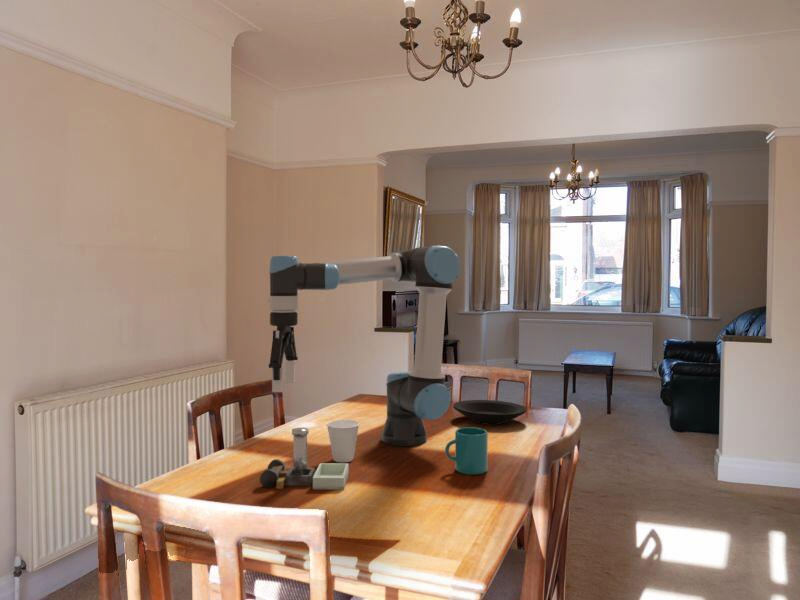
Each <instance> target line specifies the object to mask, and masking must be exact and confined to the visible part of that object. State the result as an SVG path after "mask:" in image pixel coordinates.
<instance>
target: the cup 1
mask: <svg viewBox="0 0 800 600" xmlns="http://www.w3.org/2000/svg"><path fill="white" fill-rule="evenodd" d="M325 425H326V426H327V431H328V436H329V437H328V438H329V442H330V443H329V444H330V449H331V454H332V455H331V457H332V460H333V461H334V463H335V462H336V463H343V464H346V463H350V462H352V461H353V460H354V457H355V453H356V446H357V445H356V444H357V438H358V433H359V427H360V421H357V420H352V419H336V420H335V419H334V420H331V421H328V422H327V423H326V424H325Z"/></svg>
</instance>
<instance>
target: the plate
mask: <svg viewBox="0 0 800 600" xmlns="http://www.w3.org/2000/svg"><path fill="white" fill-rule="evenodd" d="M452 407H453V409H454V410H455V411H457V412H458V413H460V414H462V416H464V417H467V418H468V419H470V420H472V421H474V422H475V423H478V424H482V425H493V426H494V425H500V424H502V423H506V422H508V421H511V420H514V419H516V418H517V419H518V417H520V416H522V415H524V414H526V413H527V408H526V407H525V406H524V405H522V404H519V403H513V402H510V401H502V400H494V399H493V400H492V399H490V400H489V399H469V400H461V401H457V402H455V403H453V406H452Z"/></svg>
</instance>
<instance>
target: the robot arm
mask: <svg viewBox="0 0 800 600" xmlns="http://www.w3.org/2000/svg"><path fill="white" fill-rule="evenodd" d="M269 262H270V263H269V272H268V273H269V292H270V293H269V299H268V301H267V302H268V303H269V309H270V311H271V312H270V313H269V324H270V326H271V327H273V326H274V327H276V330H273V331H272V344H271V350H270V358H269V364H268V368H269V369H271V392H272V393H283V392H284V384H295V383H296V380H295V379H296V376H295V375H296V367H295V366H296V361H298V359H299V358H298V355H297V347H296V340H295V328H294V326H297V325H298V312H297V310H298V308H299V307H298V306H299V305H298V303H299V302H298V297H299V296H298V295H299V293H298V290H299V291H302V290H309V291H310V290H311V291H312V290H313V291H318V290H319V291H321V290H322V291H327V290H328V291H329V290H334V289H337V287H338V286H341V285H350V284H360V283H368V282H369V283H370V282H376V281H377V282H378V281H387V280H391V281H392V282H394V283H396V282H397V283H398V282H412V283H415V284H414V285H415V286H414V287H415V289H416V290H417V292H418V293H419V294H418V295H419V296H418V297H419V298H418V308H417V309H418V310H417V312H418V313H417V323H416V339H415V348H414V363H413V369H412V370H410V371H398V372H391V373H389V374H388V375H387V377H386V383H385V384H386V385H385V386H386V420H385V422H384V426H383V429H382V432H381V442H382V443H384V444H387V445H391V446H399V447H409V446H411V447H413V446H417V445H422V444H424V443H426V442H427V441H428V440H427V439H428V438H427V431H426V428H425V425H424V421H423V420H428V421H433V420H438V419H439V418H441V417H443V415H444V414H445V413H446V412H447V411H448V410H449V407H450V405H451V402H452V401H451V400H452V399H451V392H450V390H448V387H447V386H446V375H445V374H444V373H443V372H442V365H443V364H442V363H443V350H444V349H443V348H444V334H445V321H446V312H447V311H446V310H447V298H448V297H447V296H448V294H450V292H451V291H452V290H453V282H454V281H456V279H457V278H458V277H459V275H460V273H461V262H460V258H459V256H458V254H457V253H456V252H455V251H454V249H452V248H450V247H449V246H445V245H431V246H421V247H415V248H411V249H407V250H403V251H396V252H390V253H389V255H388V256H386V255H385V256H376V257H366V258H365V257H364V258H354V259H345V260H333V261H323V262H312V263H311V262H310V263H306V262H305V263H302V262H299V261H298V256H296V255H273V256H272V257H270V261H269ZM284 357H285V360H284ZM283 360H284V361H283ZM283 362H284V367H282V365H283ZM283 368H284V369H283ZM283 377H284V378H283Z"/></svg>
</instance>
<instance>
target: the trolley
mask: <svg viewBox="0 0 800 600" xmlns="http://www.w3.org/2000/svg"><path fill="white" fill-rule="evenodd" d="M285 467H286V465H285V463H284V462H283V461H282V460H281V459H279V458H274V459H273V460H271V461H270V462H269V464H268V465H267V469H265V470H263V472H262V473H261V474H260V476H259V483H260V484H261V485H262V486H263V487H264V488H272V487H274V486H275V485H276V489H280V490H281V489H284V487H285V486H301V487H302V486H306V487H308V486H312V485H313V476H314V474H315V472H316V470H315V469H316V468H315V467H307V475H294V467H290V468H289V470H285V469H286V468H285Z"/></svg>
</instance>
